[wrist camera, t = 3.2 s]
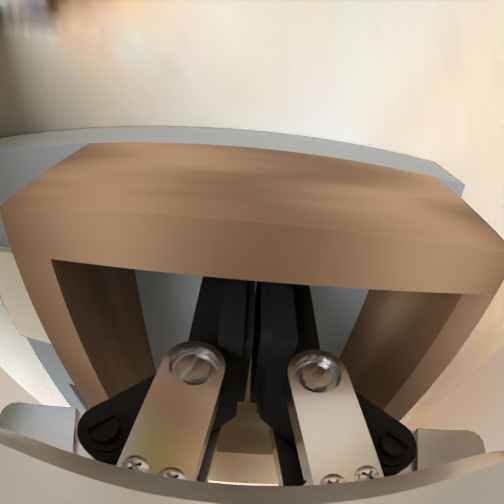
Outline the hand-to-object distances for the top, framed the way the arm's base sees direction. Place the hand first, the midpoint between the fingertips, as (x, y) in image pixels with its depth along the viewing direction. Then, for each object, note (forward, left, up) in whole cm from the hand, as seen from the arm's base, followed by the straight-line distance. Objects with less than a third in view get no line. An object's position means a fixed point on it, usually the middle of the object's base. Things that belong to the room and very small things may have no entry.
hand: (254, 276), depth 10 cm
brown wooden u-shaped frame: (0, +4, -1) cm, 4 cm away
